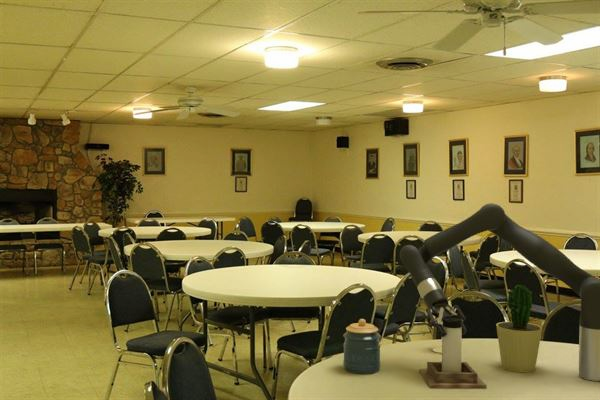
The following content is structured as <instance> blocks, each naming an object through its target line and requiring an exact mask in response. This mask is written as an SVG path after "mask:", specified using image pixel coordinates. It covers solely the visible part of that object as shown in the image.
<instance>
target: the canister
mask: <svg viewBox="0 0 600 400" xmlns="http://www.w3.org/2000/svg"><path fill="white" fill-rule="evenodd" d="M345 330H346V332H344V333H343V337H344V343H343V360H342V361H343V362H342V364H343V369H344V370H345V371H346V372H349V373H353V374H362V375H363V374H366V375H368V374H369V375H370V374H374V373H378V372H379V371H380V367H381V347H382V346H381V344H380V339H381V335H380V333H378V331H379V328H378V327H377V326H375V325H374V324H372V323H367V321H366V319H364V318H360V319H359V320H358V322H356V323H351V324H349V325H348V326H346V328H345Z"/></svg>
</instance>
